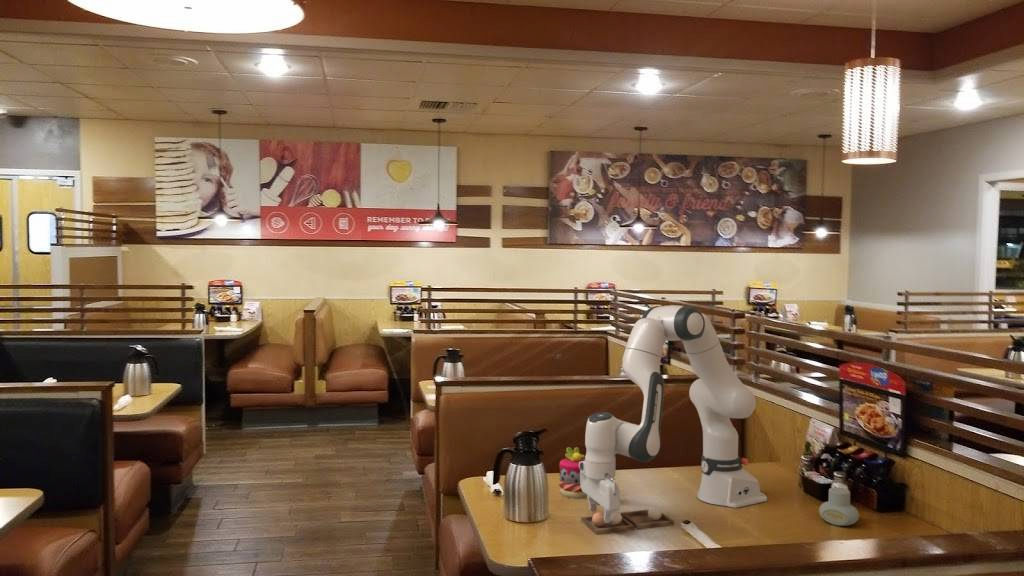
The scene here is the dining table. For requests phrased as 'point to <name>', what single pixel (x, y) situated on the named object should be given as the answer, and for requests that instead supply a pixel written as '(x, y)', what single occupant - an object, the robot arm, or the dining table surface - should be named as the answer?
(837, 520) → the air freshener
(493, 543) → the dining table surface
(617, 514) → the cream ball
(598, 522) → the ball terracotta
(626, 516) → the tray
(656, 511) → the cream ball
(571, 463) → the cake
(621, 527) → the tray
